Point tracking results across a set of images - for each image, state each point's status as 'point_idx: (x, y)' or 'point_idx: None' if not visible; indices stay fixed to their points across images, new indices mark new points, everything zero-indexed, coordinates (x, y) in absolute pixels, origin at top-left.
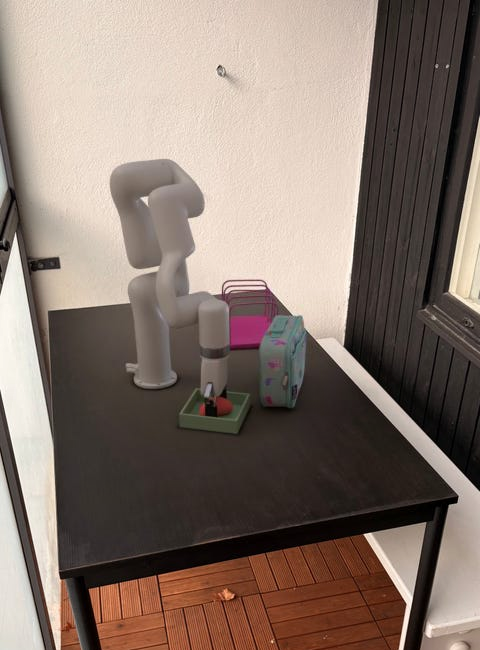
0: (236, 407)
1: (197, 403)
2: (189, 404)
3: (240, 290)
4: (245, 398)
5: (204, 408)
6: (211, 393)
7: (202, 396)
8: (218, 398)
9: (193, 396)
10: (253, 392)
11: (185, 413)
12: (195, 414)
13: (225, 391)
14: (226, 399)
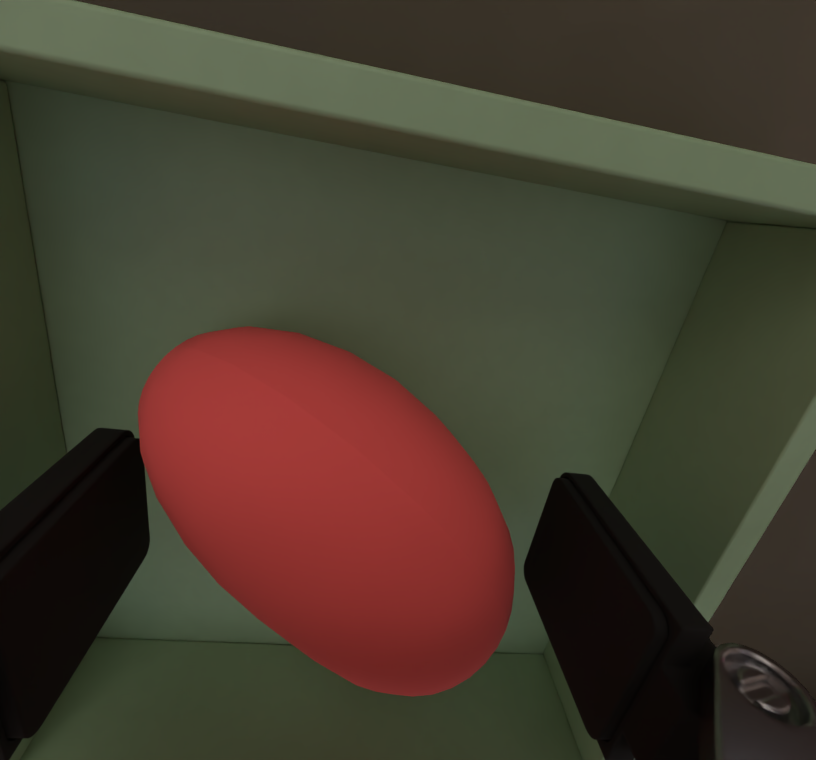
0: (523, 592)
1: (647, 224)
2: (380, 135)
3: None
4: (575, 717)
5: (158, 458)
6: (737, 440)
7: (750, 295)
8: (382, 671)
9: (649, 185)
10: (767, 647)
11: (120, 91)
12: (359, 237)
13: (588, 731)
14: (442, 689)
